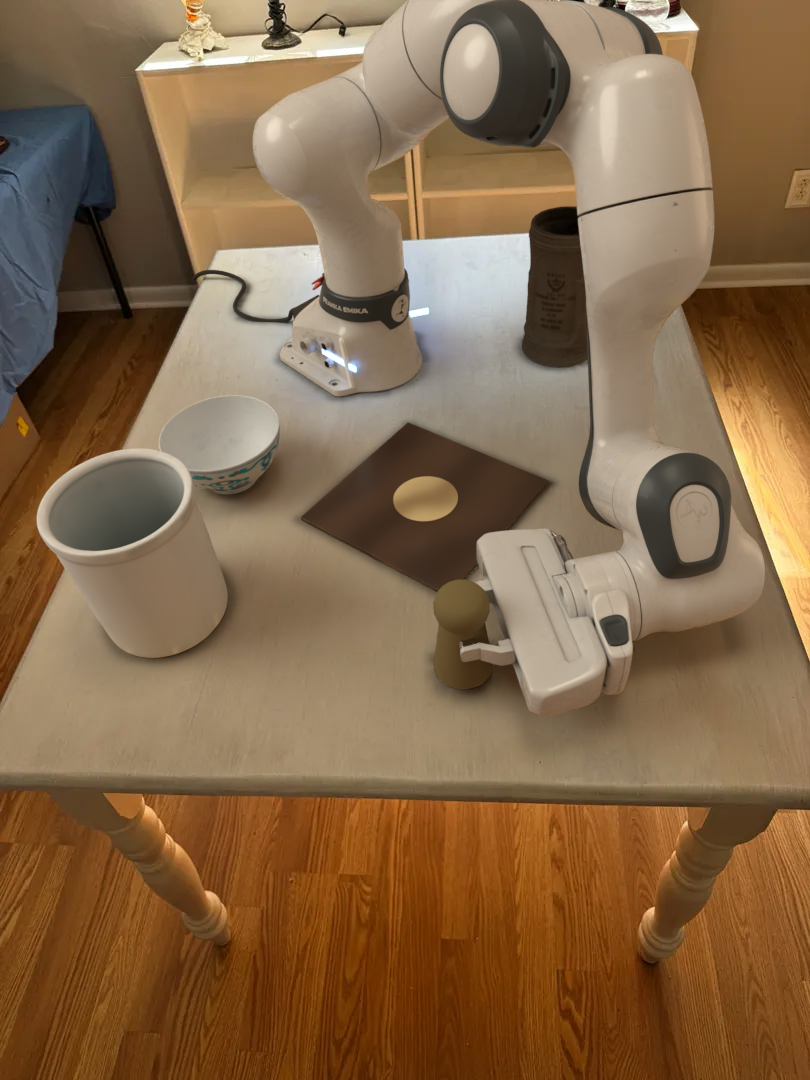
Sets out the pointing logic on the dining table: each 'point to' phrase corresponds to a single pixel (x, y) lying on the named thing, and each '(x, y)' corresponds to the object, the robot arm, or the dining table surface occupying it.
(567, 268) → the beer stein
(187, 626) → the utensil holder
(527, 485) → the mat
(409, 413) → the dining table surface
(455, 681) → the olive brown pawn
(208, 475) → the chinaware
